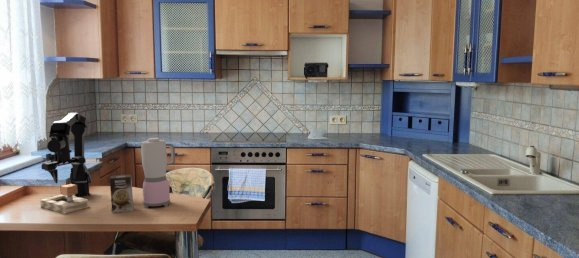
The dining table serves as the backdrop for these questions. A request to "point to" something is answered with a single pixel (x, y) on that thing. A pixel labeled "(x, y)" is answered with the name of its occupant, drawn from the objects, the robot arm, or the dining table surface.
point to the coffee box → (121, 193)
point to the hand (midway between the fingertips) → (65, 180)
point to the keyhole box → (64, 203)
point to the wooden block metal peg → (69, 191)
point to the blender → (156, 172)
